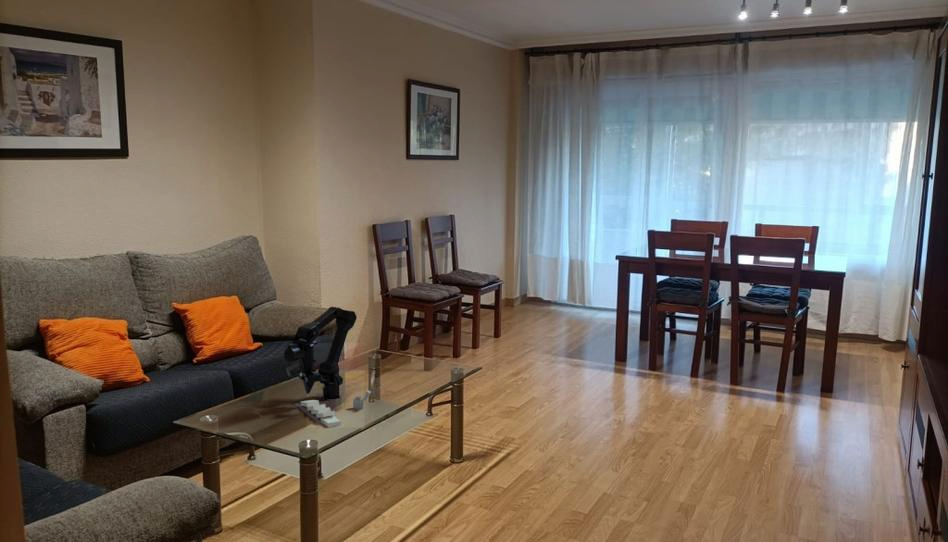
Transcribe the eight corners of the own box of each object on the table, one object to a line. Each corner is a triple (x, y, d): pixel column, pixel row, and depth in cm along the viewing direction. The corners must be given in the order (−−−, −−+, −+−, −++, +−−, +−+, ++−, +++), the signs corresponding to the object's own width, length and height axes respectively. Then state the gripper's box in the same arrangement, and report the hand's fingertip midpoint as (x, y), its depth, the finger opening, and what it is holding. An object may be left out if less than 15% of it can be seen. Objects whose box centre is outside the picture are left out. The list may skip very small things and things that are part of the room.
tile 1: (306, 406, 286) (313, 405, 279) (318, 404, 289) (325, 403, 282) (307, 410, 286) (313, 409, 279) (319, 408, 288) (325, 407, 282)
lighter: (353, 409, 289) (353, 390, 288) (354, 408, 291) (354, 389, 290) (370, 410, 288) (369, 391, 287) (371, 409, 290) (371, 390, 289)
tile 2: (311, 410, 282) (317, 409, 275) (323, 408, 284) (330, 407, 278) (311, 414, 281) (318, 413, 275) (323, 412, 284) (330, 411, 278)
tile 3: (315, 413, 277) (322, 412, 271) (328, 411, 280) (335, 410, 273) (316, 418, 277) (323, 416, 270) (328, 415, 280) (335, 414, 273)
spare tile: (300, 401, 292) (306, 402, 286) (312, 399, 295) (318, 400, 288) (300, 405, 292) (307, 406, 286) (312, 403, 295) (319, 404, 288)
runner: (294, 404, 295) (294, 403, 295) (312, 401, 299) (312, 400, 299) (319, 425, 270) (319, 424, 270) (339, 421, 274) (339, 420, 274)
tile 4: (320, 417, 273) (328, 423, 266) (332, 415, 276) (340, 421, 269) (320, 421, 273) (328, 427, 266) (332, 419, 276) (340, 425, 269)
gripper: (280, 354, 293) (281, 390, 295) (295, 364, 278) (296, 402, 280) (306, 351, 299) (307, 387, 301) (322, 360, 284) (323, 398, 285)
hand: (307, 393), depth 292 cm, fingers closed
